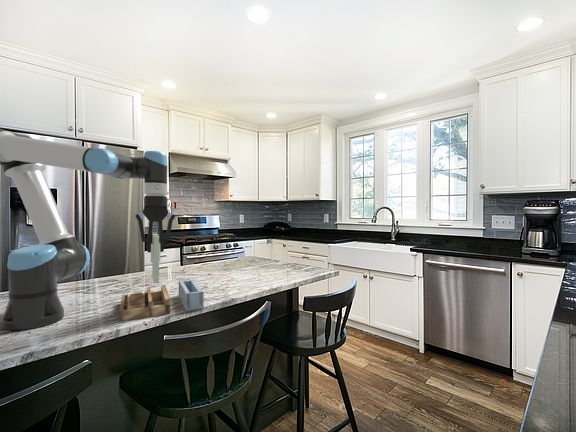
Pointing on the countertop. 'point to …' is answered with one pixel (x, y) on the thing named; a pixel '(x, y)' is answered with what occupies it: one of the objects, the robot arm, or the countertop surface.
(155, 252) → the sheet
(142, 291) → the offcut pine
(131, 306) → the offcut oak
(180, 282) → the stand
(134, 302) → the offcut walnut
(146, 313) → the rack
